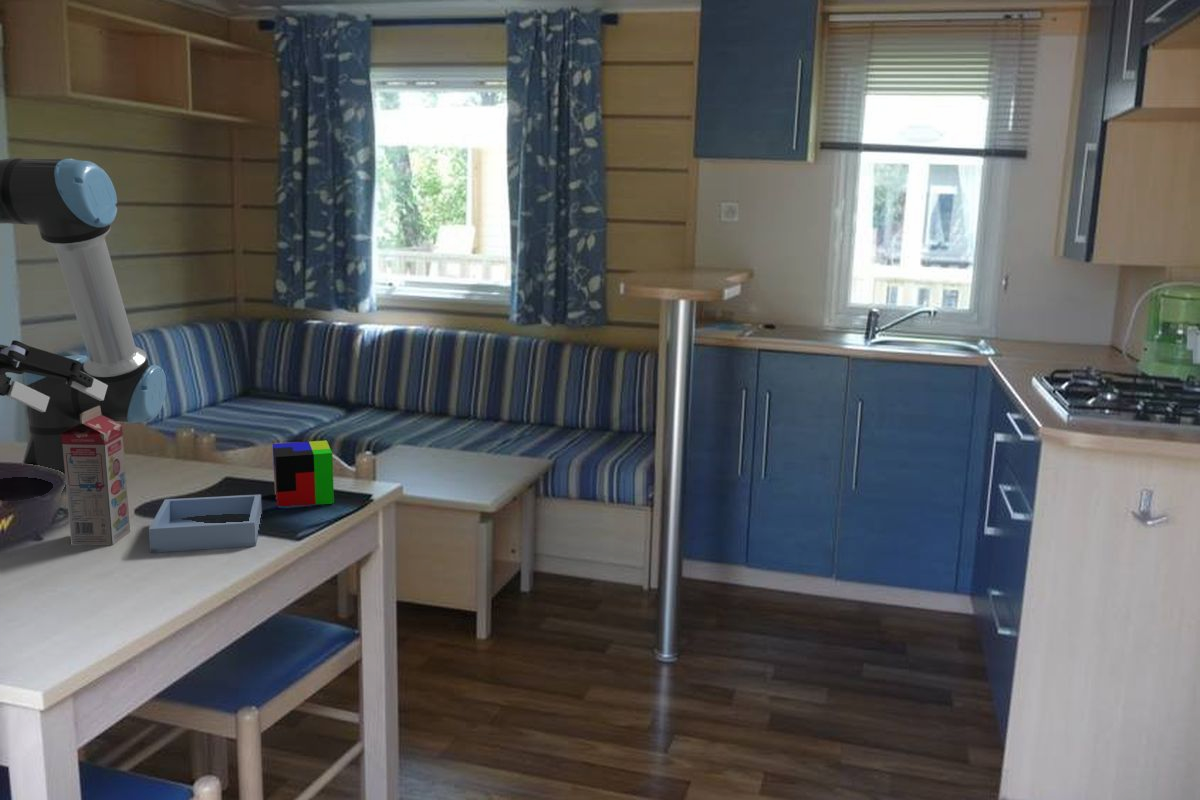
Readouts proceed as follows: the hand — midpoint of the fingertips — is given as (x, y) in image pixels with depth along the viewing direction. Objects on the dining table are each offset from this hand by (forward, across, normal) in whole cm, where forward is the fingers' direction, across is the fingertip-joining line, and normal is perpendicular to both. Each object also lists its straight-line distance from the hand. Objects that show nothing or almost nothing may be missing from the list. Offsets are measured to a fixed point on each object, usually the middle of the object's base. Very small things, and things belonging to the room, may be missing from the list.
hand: (74, 399), depth 163 cm
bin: (+22, +13, -17) cm, 31 cm away
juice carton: (+13, -1, -20) cm, 24 cm away
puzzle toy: (+41, +14, -5) cm, 44 cm away
